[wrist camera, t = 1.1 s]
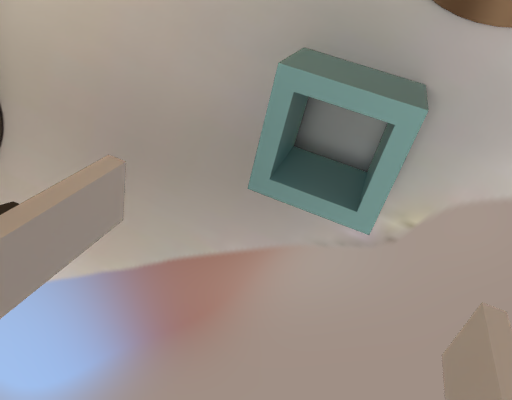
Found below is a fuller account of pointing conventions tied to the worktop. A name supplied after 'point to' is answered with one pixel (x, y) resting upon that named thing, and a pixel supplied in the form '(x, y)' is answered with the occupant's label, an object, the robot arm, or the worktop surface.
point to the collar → (324, 169)
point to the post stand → (481, 10)
